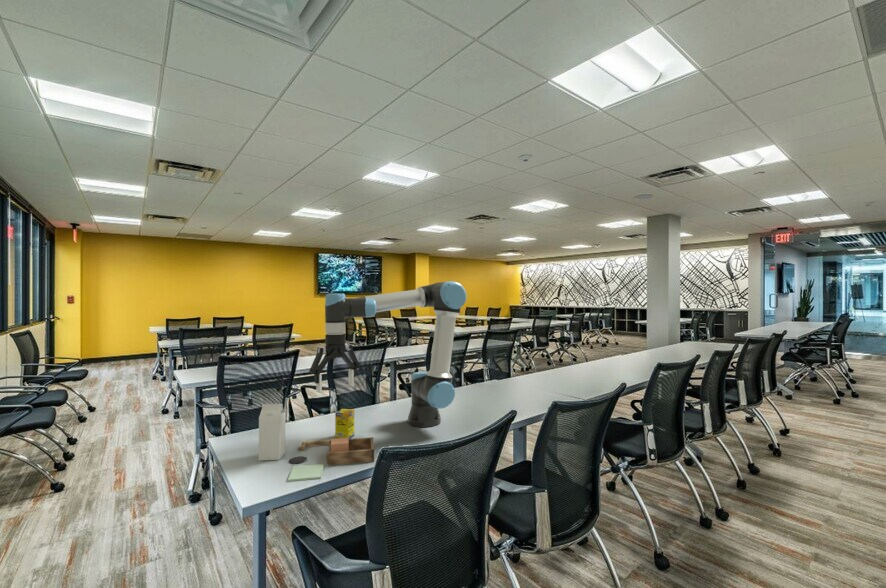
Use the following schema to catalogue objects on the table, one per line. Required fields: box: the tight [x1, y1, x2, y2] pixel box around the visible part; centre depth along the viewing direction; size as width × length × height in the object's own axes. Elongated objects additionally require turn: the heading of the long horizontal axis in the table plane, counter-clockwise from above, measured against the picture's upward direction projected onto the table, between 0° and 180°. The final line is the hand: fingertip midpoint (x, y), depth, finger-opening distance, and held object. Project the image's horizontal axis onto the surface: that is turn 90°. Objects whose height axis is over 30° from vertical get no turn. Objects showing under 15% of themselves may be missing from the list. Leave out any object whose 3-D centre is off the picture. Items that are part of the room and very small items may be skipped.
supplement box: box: [334, 408, 355, 439], centre depth 166 cm, size 6×6×11 cm
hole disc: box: [288, 455, 308, 465], centre depth 143 cm, size 6×6×1 cm
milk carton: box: [258, 403, 286, 461], centre depth 147 cm, size 7×7×19 cm
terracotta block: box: [330, 437, 349, 452], centre depth 146 cm, size 6×6×6 cm
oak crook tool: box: [299, 438, 332, 452], centre depth 156 cm, size 14×6×2 cm, turn 102°
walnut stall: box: [326, 436, 375, 466], centre depth 147 cm, size 16×13×4 cm
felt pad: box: [287, 463, 325, 482], centre depth 133 cm, size 10×10×1 cm
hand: (335, 389), depth 155 cm, fingers open, 13 cm apart
